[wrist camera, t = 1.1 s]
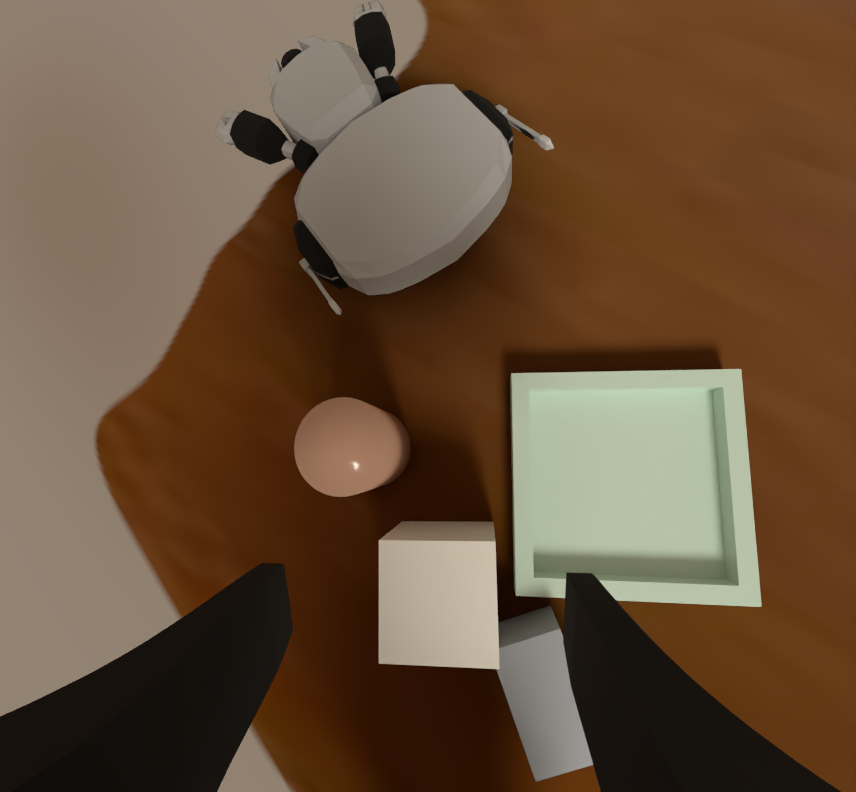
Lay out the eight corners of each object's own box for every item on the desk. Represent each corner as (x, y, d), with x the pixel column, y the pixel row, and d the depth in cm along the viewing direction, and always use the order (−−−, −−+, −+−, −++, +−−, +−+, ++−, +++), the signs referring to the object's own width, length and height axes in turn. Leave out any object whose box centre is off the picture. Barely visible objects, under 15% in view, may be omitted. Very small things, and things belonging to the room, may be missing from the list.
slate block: (591, 715, 20) (609, 759, 17) (528, 734, 20) (535, 781, 18) (549, 604, 21) (560, 628, 18) (489, 623, 21) (489, 651, 18)
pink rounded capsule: (410, 488, 22) (389, 497, 18) (333, 487, 23) (292, 496, 18) (411, 408, 23) (390, 396, 18) (336, 409, 23) (296, 397, 19)
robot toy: (233, 166, 27) (368, 349, 24) (180, 106, 23) (336, 319, 19) (392, 39, 27) (555, 204, 23) (369, -46, 23) (566, 139, 19)
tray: (742, 596, 20) (761, 606, 18) (513, 586, 21) (515, 595, 20) (724, 374, 21) (740, 369, 20) (509, 378, 22) (511, 373, 21)
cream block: (496, 619, 21) (499, 669, 16) (403, 616, 22) (378, 663, 17) (493, 521, 22) (495, 541, 17) (402, 521, 22) (378, 540, 17)
